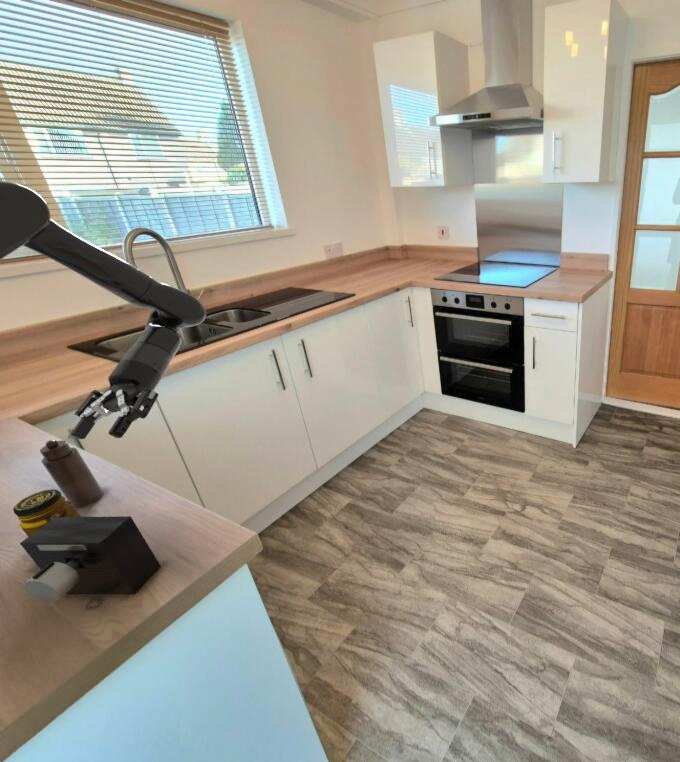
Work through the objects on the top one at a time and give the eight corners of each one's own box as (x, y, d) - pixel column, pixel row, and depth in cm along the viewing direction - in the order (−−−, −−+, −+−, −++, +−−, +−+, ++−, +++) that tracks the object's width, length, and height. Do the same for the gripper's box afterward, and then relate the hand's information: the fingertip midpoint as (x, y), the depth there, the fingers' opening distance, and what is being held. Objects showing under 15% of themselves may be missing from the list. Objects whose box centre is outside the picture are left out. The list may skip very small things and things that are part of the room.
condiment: (36, 570, 69) (-9, 514, 63) (86, 530, 76) (50, 477, 71) (76, 572, 68) (34, 515, 63) (123, 531, 76) (89, 478, 70)
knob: (65, 602, 57) (46, 579, 55) (35, 602, 58) (15, 579, 56) (99, 571, 62) (82, 548, 60) (71, 571, 62) (53, 548, 60)
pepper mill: (66, 511, 81) (23, 450, 75) (84, 494, 86) (45, 435, 79) (93, 507, 82) (54, 446, 76) (110, 490, 86) (74, 431, 80)
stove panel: (135, 597, 63) (99, 543, 58) (60, 596, 64) (18, 543, 59) (162, 568, 68) (130, 516, 63) (92, 568, 69) (55, 516, 64)
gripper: (97, 360, 89) (44, 428, 80) (156, 356, 87) (109, 425, 77) (128, 380, 95) (83, 446, 86) (184, 377, 93) (144, 444, 84)
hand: (95, 436), depth 82 cm, fingers open, 8 cm apart
